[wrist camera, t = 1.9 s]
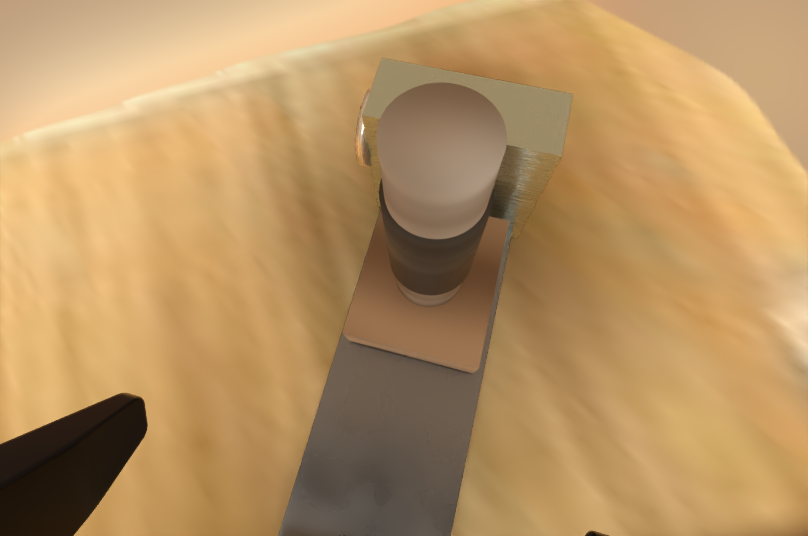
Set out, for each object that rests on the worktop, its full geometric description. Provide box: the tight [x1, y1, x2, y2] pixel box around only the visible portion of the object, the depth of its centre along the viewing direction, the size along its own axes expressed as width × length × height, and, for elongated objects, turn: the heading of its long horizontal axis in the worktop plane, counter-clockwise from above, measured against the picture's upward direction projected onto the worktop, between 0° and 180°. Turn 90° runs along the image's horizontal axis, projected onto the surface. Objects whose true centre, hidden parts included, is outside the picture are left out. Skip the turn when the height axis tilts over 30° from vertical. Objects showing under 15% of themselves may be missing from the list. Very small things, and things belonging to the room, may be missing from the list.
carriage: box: [342, 82, 509, 373], centre depth 16 cm, size 7×6×12 cm
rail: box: [278, 58, 573, 536], centre depth 19 cm, size 22×9×8 cm, turn 165°
